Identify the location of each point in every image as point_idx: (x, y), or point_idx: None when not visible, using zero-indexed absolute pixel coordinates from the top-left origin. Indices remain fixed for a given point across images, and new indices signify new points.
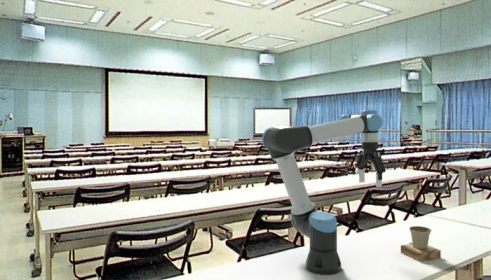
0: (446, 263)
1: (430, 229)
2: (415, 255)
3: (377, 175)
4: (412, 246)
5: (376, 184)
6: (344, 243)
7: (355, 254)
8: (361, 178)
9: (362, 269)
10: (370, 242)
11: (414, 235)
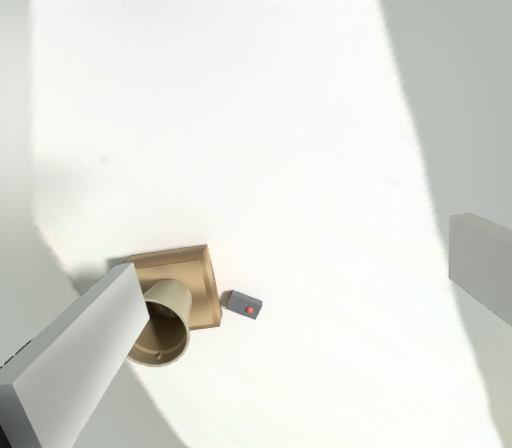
0: None
1: (141, 363)
2: (140, 258)
3: (21, 366)
4: (180, 279)
5: (111, 276)
6: (337, 97)
7: (216, 87)
8: (484, 255)
9: (80, 48)
10: (320, 199)
11: (143, 296)
